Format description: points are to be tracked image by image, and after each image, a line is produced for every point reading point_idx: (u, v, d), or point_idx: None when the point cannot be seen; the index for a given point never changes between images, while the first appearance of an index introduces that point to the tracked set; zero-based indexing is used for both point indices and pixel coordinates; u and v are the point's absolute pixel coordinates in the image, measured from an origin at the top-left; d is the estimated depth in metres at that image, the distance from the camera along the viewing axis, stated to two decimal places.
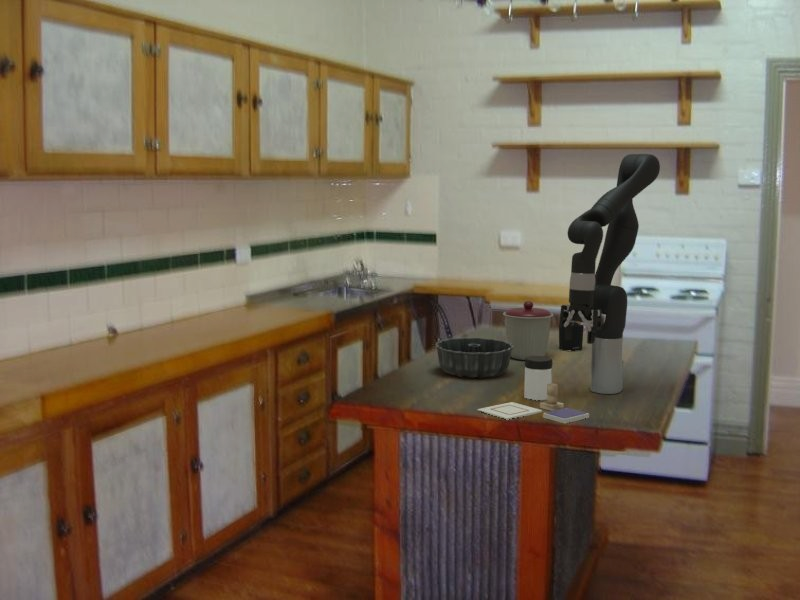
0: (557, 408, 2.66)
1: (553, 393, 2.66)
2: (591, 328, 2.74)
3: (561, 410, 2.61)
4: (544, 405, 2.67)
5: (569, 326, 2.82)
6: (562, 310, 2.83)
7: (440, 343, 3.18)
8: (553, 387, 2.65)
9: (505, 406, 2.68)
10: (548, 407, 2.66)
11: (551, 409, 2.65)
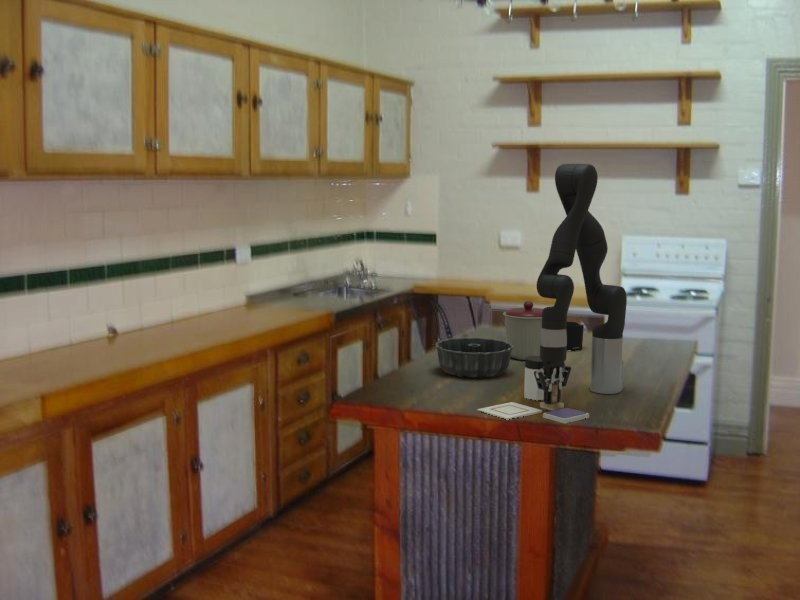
0: (557, 408, 2.66)
1: (553, 393, 2.66)
2: None
3: (561, 410, 2.61)
4: (544, 405, 2.67)
5: None
6: (542, 377, 2.62)
7: (440, 343, 3.18)
8: (553, 387, 2.65)
9: (505, 406, 2.68)
10: (548, 407, 2.66)
11: (551, 409, 2.65)
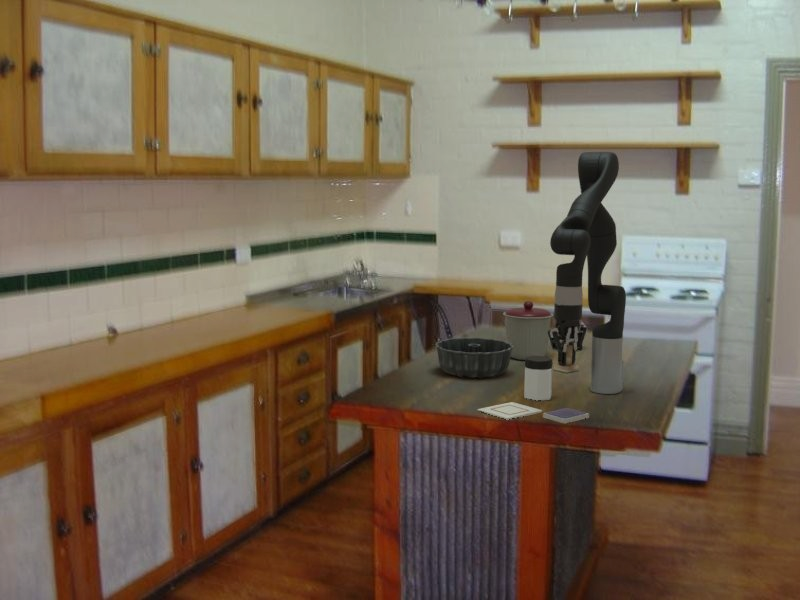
0: (572, 370, 2.55)
1: (567, 354, 2.55)
2: None
3: (561, 410, 2.61)
4: (558, 366, 2.55)
5: None
6: (557, 336, 2.51)
7: (440, 343, 3.18)
8: (568, 348, 2.54)
9: (505, 406, 2.68)
10: (562, 369, 2.54)
11: (566, 370, 2.53)
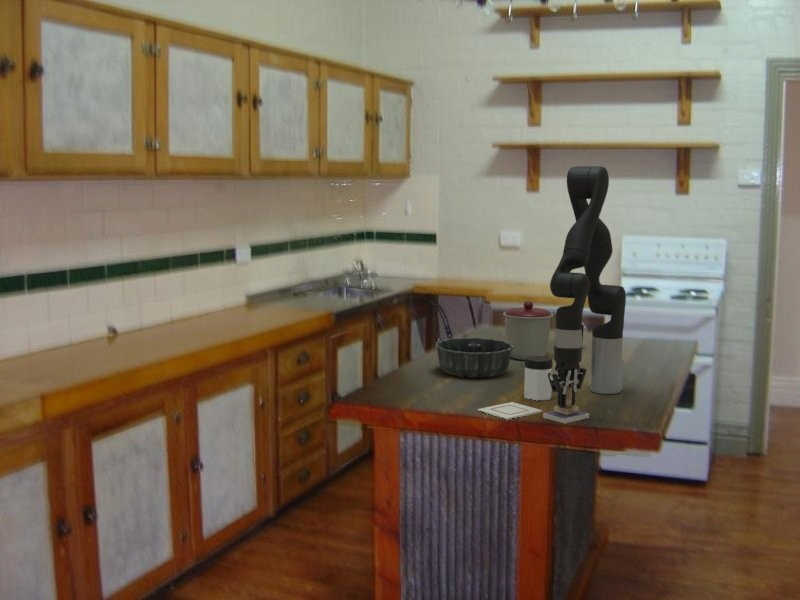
0: (572, 412, 2.56)
1: (567, 396, 2.56)
2: None
3: None
4: (558, 408, 2.57)
5: None
6: (557, 379, 2.52)
7: (440, 343, 3.18)
8: (568, 390, 2.56)
9: (505, 406, 2.68)
10: (562, 411, 2.56)
11: (566, 413, 2.55)
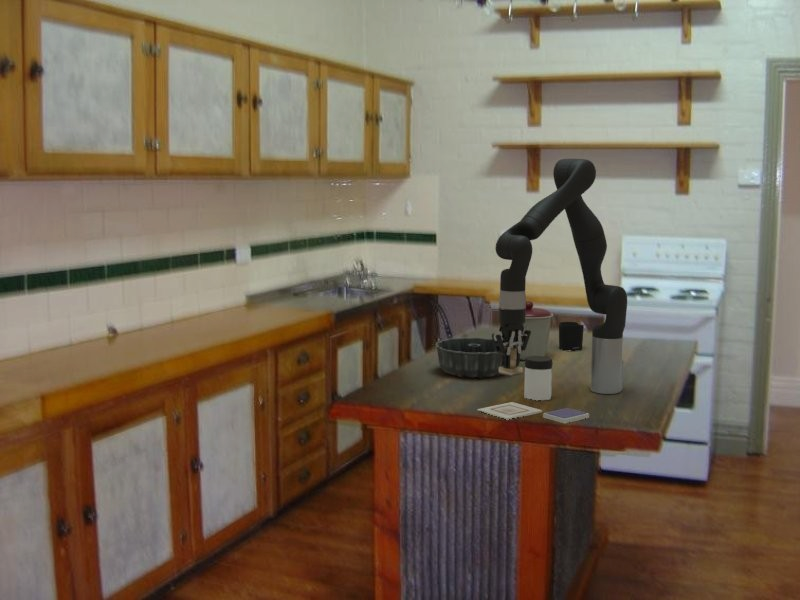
0: (516, 372, 2.61)
1: (511, 357, 2.61)
2: None
3: (561, 410, 2.61)
4: (503, 369, 2.61)
5: None
6: (500, 339, 2.57)
7: (440, 343, 3.18)
8: (512, 351, 2.60)
9: (505, 406, 2.68)
10: (506, 371, 2.60)
11: (510, 373, 2.60)
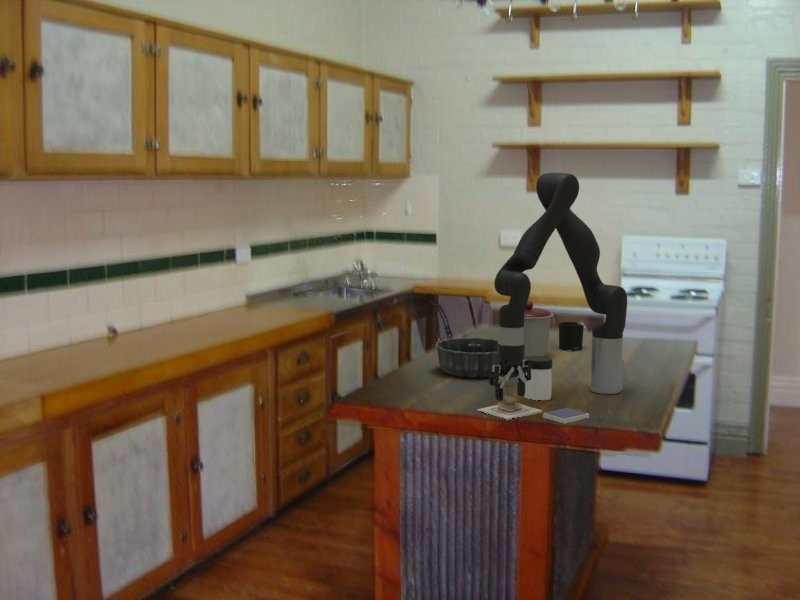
0: (515, 409, 2.62)
1: (510, 393, 2.62)
2: None
3: (561, 410, 2.61)
4: (502, 406, 2.63)
5: None
6: (498, 371, 2.58)
7: (440, 343, 3.18)
8: (511, 387, 2.62)
9: None
10: (505, 408, 2.62)
11: (509, 410, 2.61)
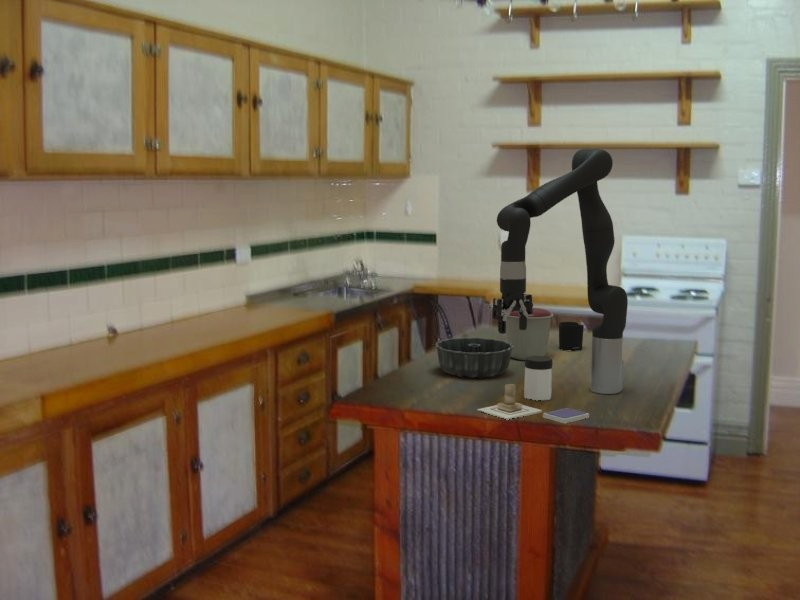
0: (515, 409, 2.62)
1: (510, 393, 2.62)
2: None
3: (561, 410, 2.61)
4: (502, 406, 2.63)
5: None
6: (500, 304, 2.66)
7: (440, 343, 3.18)
8: (511, 387, 2.62)
9: None
10: (505, 408, 2.62)
11: (509, 410, 2.61)
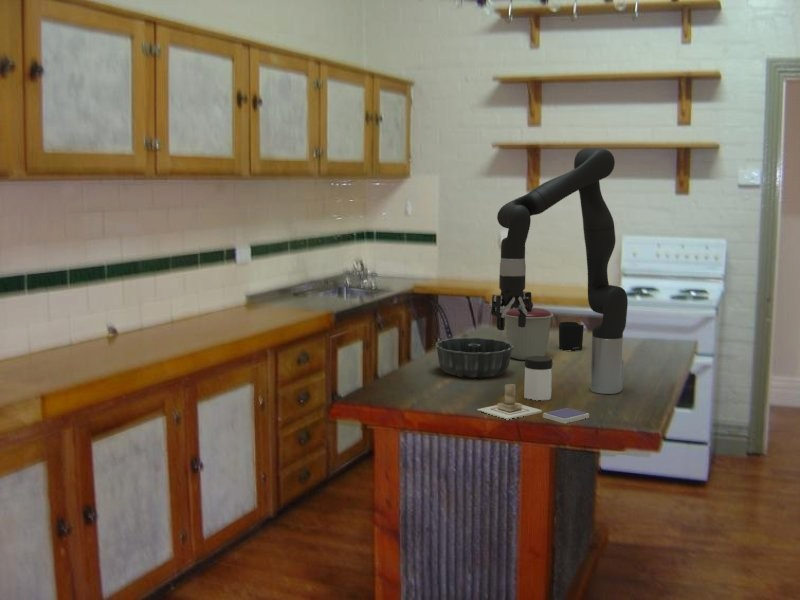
0: (515, 409, 2.62)
1: (510, 393, 2.62)
2: None
3: (561, 410, 2.61)
4: (502, 406, 2.63)
5: None
6: (499, 301, 2.66)
7: (440, 343, 3.18)
8: (511, 387, 2.62)
9: None
10: (505, 408, 2.62)
11: (509, 410, 2.61)
